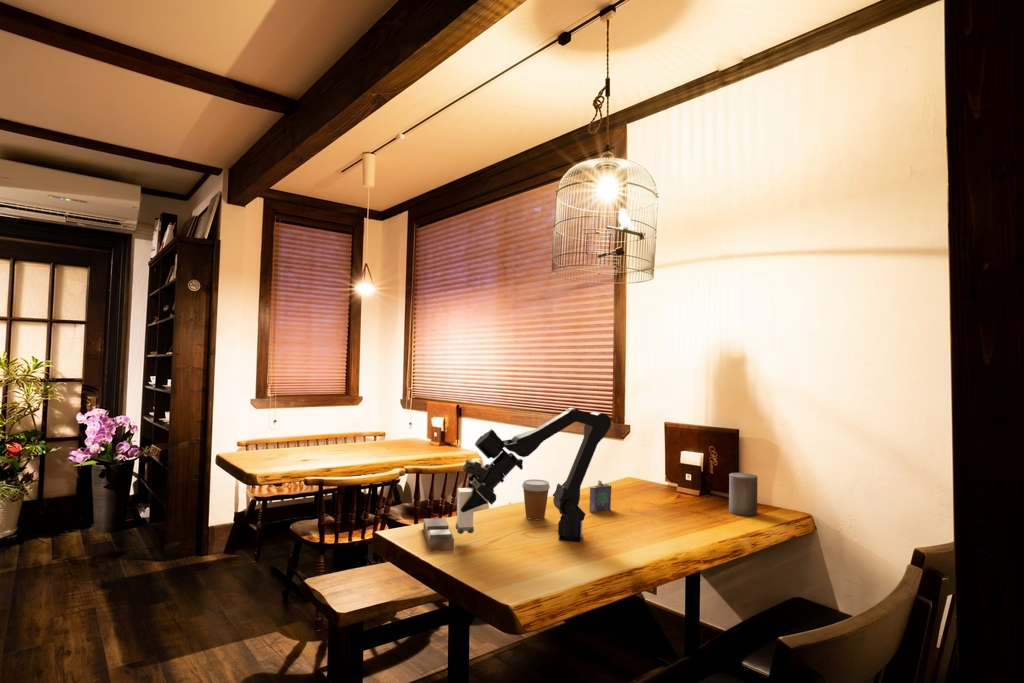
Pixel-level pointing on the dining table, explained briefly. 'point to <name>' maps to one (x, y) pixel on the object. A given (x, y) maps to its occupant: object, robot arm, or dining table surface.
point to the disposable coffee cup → (535, 498)
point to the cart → (466, 517)
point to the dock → (438, 534)
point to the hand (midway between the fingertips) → (460, 508)
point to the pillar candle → (743, 494)
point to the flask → (600, 498)
